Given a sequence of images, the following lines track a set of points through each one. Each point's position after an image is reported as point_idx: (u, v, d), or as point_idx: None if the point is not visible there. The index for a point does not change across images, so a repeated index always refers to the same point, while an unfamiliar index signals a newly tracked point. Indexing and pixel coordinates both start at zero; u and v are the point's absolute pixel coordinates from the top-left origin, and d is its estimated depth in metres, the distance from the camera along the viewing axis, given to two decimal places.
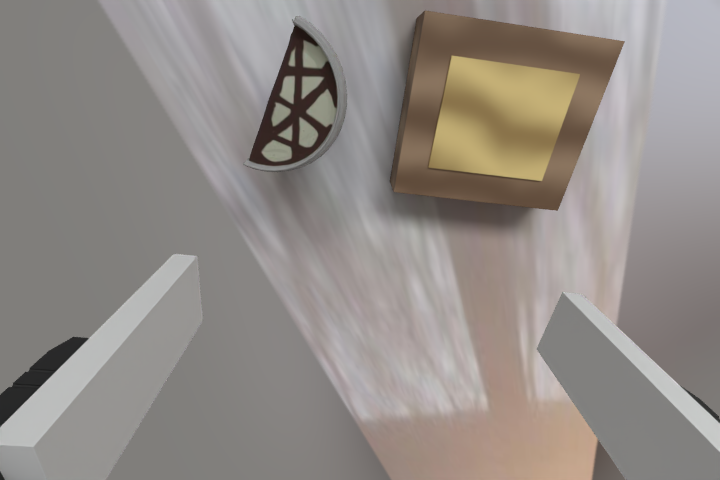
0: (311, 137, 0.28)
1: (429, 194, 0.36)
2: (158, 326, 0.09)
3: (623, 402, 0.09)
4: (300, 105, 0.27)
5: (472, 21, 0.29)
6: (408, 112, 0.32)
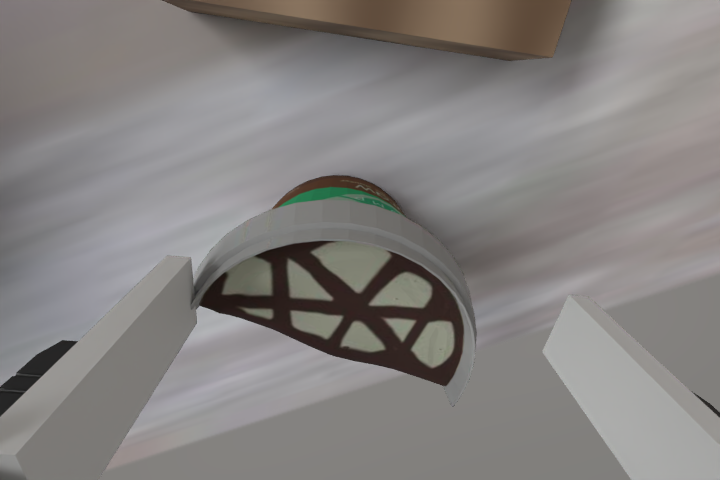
0: (410, 285, 0.13)
1: None
2: (149, 329, 0.09)
3: (632, 407, 0.09)
4: (345, 303, 0.13)
5: None
6: (364, 25, 0.13)
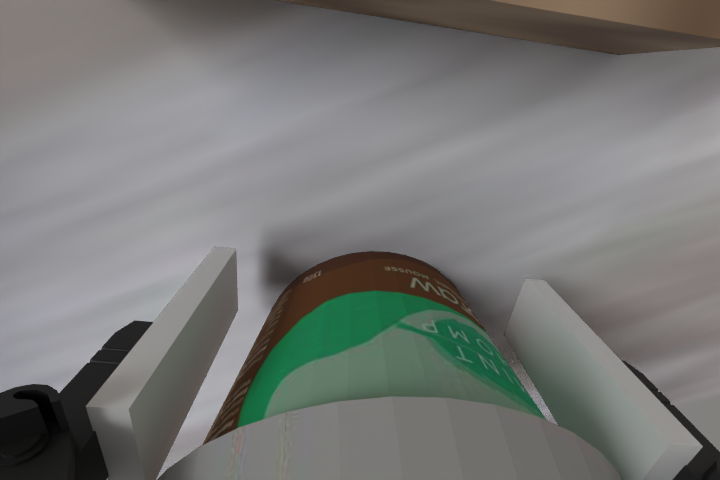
0: None
1: None
2: (208, 312, 0.10)
3: (571, 377, 0.10)
4: None
5: None
6: None
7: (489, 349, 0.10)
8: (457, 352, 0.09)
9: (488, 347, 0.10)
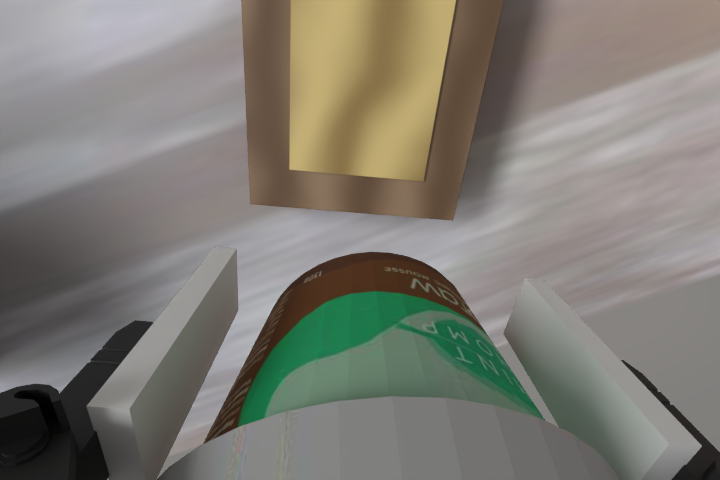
0: None
1: (461, 174, 0.26)
2: (208, 312, 0.10)
3: (571, 377, 0.10)
4: None
5: (251, 149, 0.24)
6: (355, 211, 0.27)
7: (489, 350, 0.10)
8: (457, 353, 0.09)
9: (488, 348, 0.10)
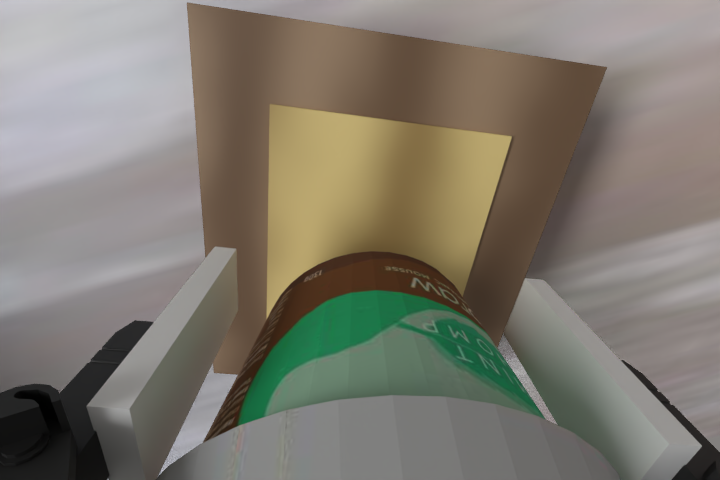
0: None
1: (495, 344, 0.19)
2: (208, 312, 0.10)
3: (571, 377, 0.10)
4: None
5: None
6: None
7: (489, 349, 0.10)
8: (458, 352, 0.09)
9: (488, 347, 0.10)
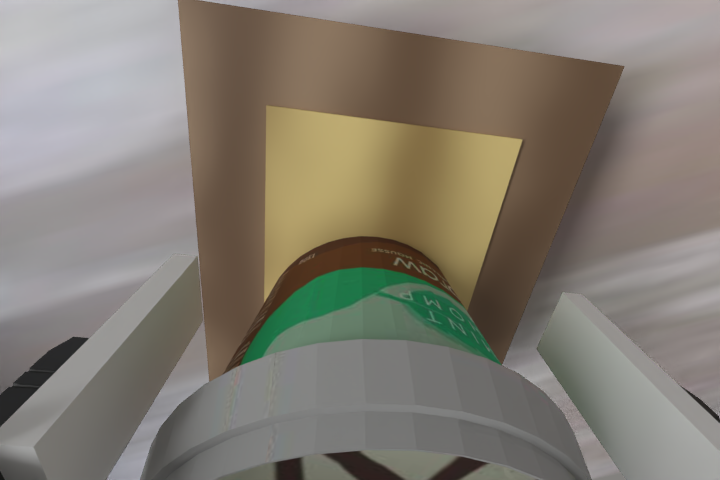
0: (503, 475, 0.08)
1: (502, 355, 0.19)
2: (158, 326, 0.09)
3: (623, 402, 0.09)
4: None
5: (209, 325, 0.17)
6: None
7: (461, 316, 0.11)
8: (428, 315, 0.10)
9: (460, 315, 0.11)
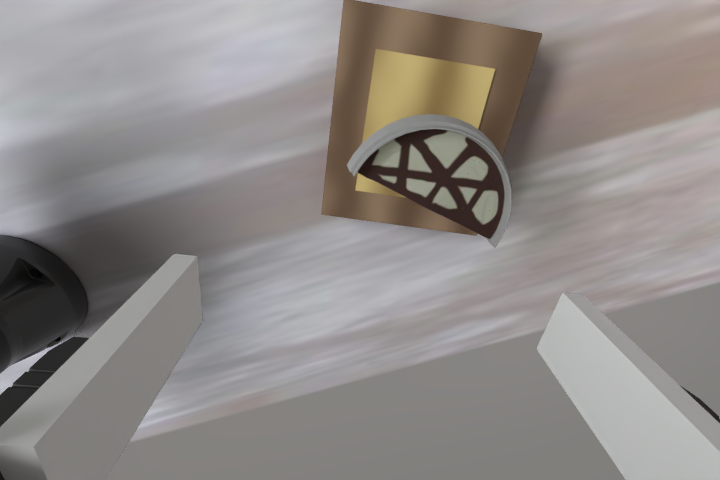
0: (476, 165, 0.22)
1: None
2: (158, 326, 0.09)
3: (623, 402, 0.09)
4: (438, 174, 0.23)
5: (328, 173, 0.32)
6: (401, 224, 0.34)
7: None
8: None
9: None
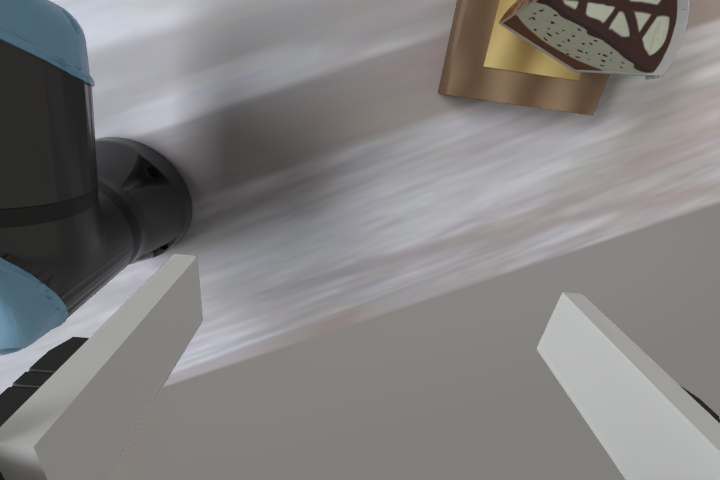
0: None
1: (606, 76, 0.35)
2: (158, 326, 0.09)
3: (623, 402, 0.09)
4: None
5: (459, 48, 0.33)
6: (522, 104, 0.36)
7: None
8: None
9: None
